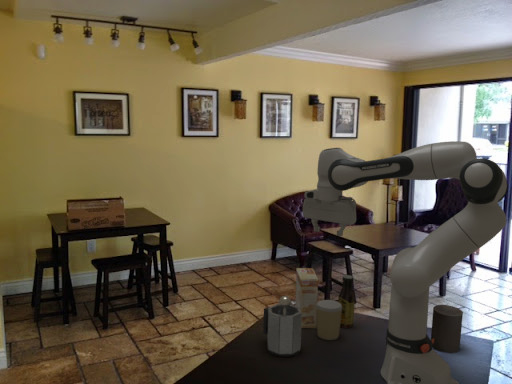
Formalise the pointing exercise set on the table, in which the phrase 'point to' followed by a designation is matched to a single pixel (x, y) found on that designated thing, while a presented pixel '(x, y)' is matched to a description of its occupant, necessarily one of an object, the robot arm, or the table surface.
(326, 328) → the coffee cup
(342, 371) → the table surface
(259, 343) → the table surface
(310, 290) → the coffeecake box
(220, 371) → the table surface
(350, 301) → the sauce bottle
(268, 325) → the press pot
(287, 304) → the plunger
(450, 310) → the pillar candle
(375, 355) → the table surface
